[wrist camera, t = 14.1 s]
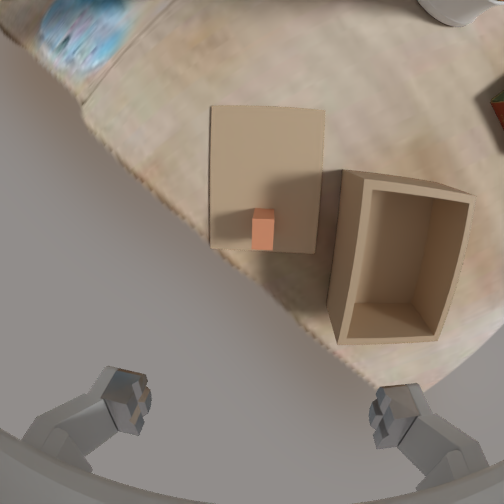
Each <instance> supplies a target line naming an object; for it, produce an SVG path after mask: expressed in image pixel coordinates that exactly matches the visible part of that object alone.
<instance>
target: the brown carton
mask: <svg viewBox="0 0 504 504" xmlns="http://www.w3.org/2000/svg"><path fill="white" fill-rule="evenodd" d="M476 197H477V196H475V195H472V194H469V193H466V192H464V191H461V190H458V189H455V188H452V187H449V186H446V185H443V184H440V183H437V182H431V181H425V180H419V179H413V178H406V177H400V176H393V175H385V174H378V173H370V172H361V171H352V170H343V169H342V180H341V191H340V202H339V212H338V221H337V230H336V238H335V247H334V254H333V262H332V269H331V276H330V282H329V289H328V295H327V301H326V306H327V310H328V313H329V317H330V320H331V324H332V327H333V331H334V334H335V338H336V342H337V345H368V344H398V343H416V342H431V341H438V339H439V336H440V333H441V331H442V328H443V325H444V323H445V320H446V317H447V314H448V311H449V308H450V305H451V302H452V299H453V296H454V293H455V290H456V286H457V283H458V280H459V276H460V273H461V269H462V265H463V261H464V257H465V253H466V249H467V245H468V240H469V236H470V231H471V226H472V221H473V215H474V209H475V203H476Z"/></svg>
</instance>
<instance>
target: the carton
mask: <svg viewBox="0 0 504 504" xmlns="http://www.w3.org/2000/svg"><path fill="white" fill-rule="evenodd" d="M490 103H491V105H492V107H493V109H494V111H495V113H496V115H497V117H498V119H499V121H500V123H501V125H502V127H503V130H504V90H503V91H502V92H501V93H500V94H498V95H497V96H496V97H494V98H493V99H491V102H490Z"/></svg>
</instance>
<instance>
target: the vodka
mask: <svg viewBox="0 0 504 504" xmlns="http://www.w3.org/2000/svg"><path fill="white" fill-rule="evenodd" d="M417 1H418V2H419V3H420V5H421V6H422V7H423V8H424V9H425V10H426V11H427V12H428V13H429V14H430V15H431V16H433V17H434V18H435V19H437V20H438V21H440V22H442V23H444V24H447V25H450V26H455V27H464V26H466V25H468V24H470V23H472V22H473V21H474V20H475V19H476V17H478V16H479V15H480V14H482V13H483V12H485V11H486V10H488V9H490V8H492V7H494V6H497V5H503V4H504V0H417Z"/></svg>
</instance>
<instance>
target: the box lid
mask: <svg viewBox="0 0 504 504" xmlns="http://www.w3.org/2000/svg"><path fill="white" fill-rule="evenodd" d="M324 130H325V110H316V109H304V108H291V107H274V106H212V112H211V153H210V248H211V249H229V250H248V251H268V252H287V253H306V254H315V247H316V238H317V228H318V217H319V206H320V194H321V181H322V166H323V150H324Z"/></svg>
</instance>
